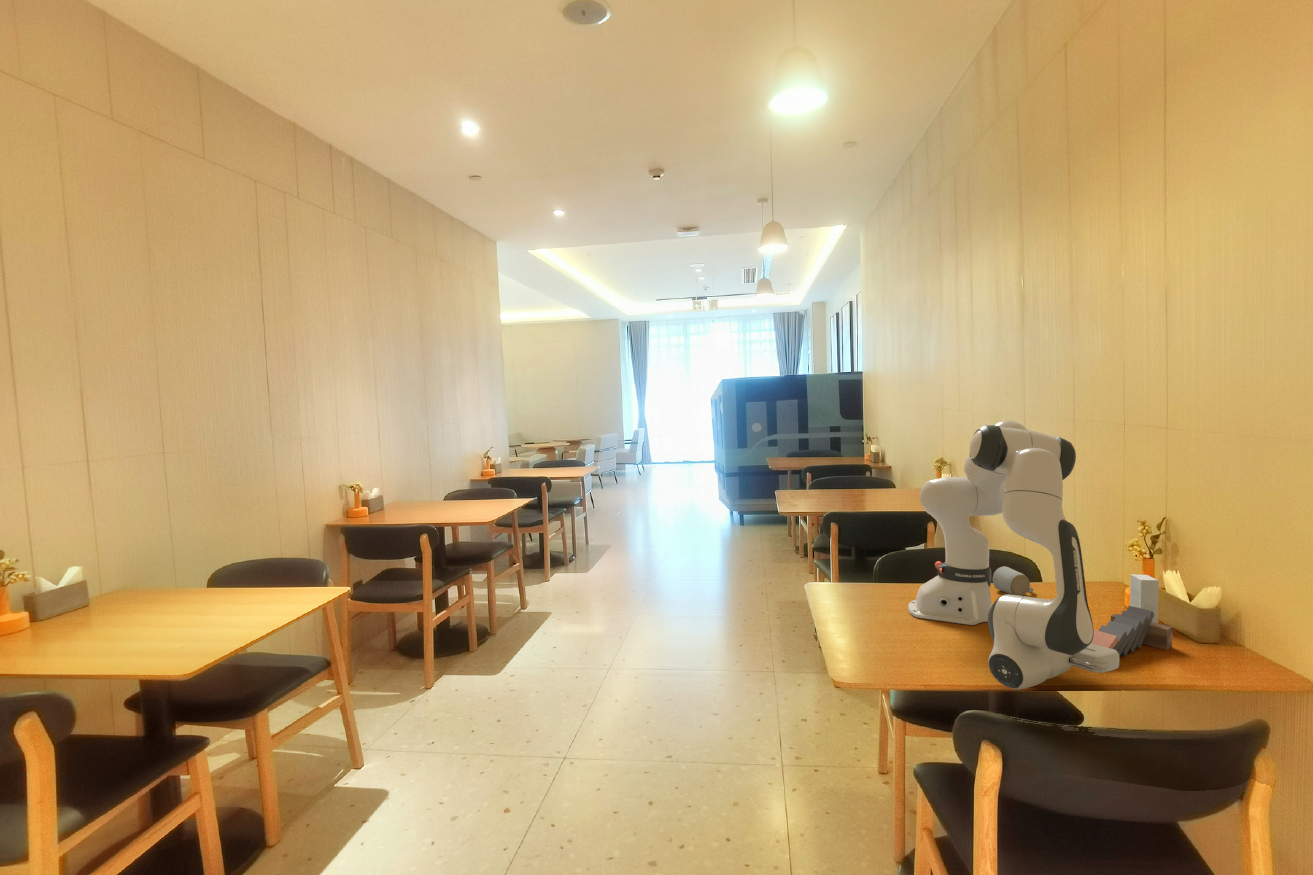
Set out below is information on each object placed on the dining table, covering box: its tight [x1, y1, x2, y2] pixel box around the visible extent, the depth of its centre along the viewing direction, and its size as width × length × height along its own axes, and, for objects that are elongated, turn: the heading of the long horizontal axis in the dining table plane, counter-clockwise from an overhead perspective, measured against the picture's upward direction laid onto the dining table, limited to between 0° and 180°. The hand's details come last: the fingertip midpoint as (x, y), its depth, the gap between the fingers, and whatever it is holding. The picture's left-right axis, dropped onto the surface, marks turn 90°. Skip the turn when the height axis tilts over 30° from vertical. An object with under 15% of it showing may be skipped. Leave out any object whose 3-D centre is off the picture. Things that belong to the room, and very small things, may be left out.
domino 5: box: [1120, 609, 1148, 654], centre depth 158 cm, size 2×5×10 cm
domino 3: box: [1106, 620, 1135, 657], centre depth 154 cm, size 2×5×10 cm
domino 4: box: [1114, 614, 1142, 658], centre depth 156 cm, size 2×5×10 cm
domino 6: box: [1126, 605, 1154, 649], centre depth 160 cm, size 2×5×10 cm
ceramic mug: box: [992, 566, 1035, 596], centre depth 202 cm, size 11×8×8 cm
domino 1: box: [1091, 629, 1118, 649], centre depth 150 cm, size 2×5×10 cm
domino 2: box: [1097, 624, 1127, 651], centre depth 152 cm, size 2×5×10 cm
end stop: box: [1110, 613, 1173, 651], centre depth 162 cm, size 3×12×5 cm, turn 31°
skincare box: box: [1129, 574, 1160, 624], centre depth 175 cm, size 6×4×12 cm
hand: (1080, 640), depth 146 cm, fingers closed
